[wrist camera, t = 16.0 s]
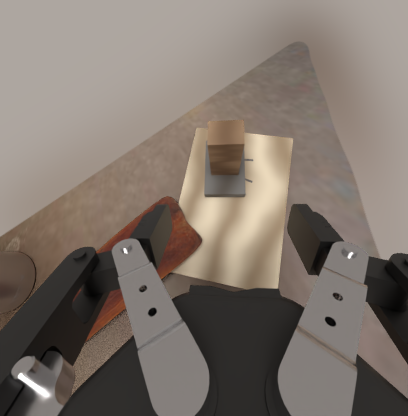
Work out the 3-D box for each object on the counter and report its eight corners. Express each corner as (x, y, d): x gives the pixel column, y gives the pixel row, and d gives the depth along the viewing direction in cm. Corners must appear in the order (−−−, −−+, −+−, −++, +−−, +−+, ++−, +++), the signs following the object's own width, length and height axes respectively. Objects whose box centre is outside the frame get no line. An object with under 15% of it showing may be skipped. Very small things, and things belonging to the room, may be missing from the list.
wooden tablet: (170, 193, 30) (166, 189, 28) (208, 242, 26) (206, 241, 25) (37, 300, 29) (26, 302, 27) (60, 363, 26) (49, 370, 24)
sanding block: (205, 197, 29) (197, 170, 19) (206, 145, 31) (200, 99, 22) (244, 197, 28) (255, 169, 19) (243, 144, 30) (252, 97, 21)
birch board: (165, 269, 28) (162, 270, 27) (197, 133, 33) (196, 127, 32) (273, 293, 26) (277, 296, 24) (289, 143, 31) (293, 138, 30)
